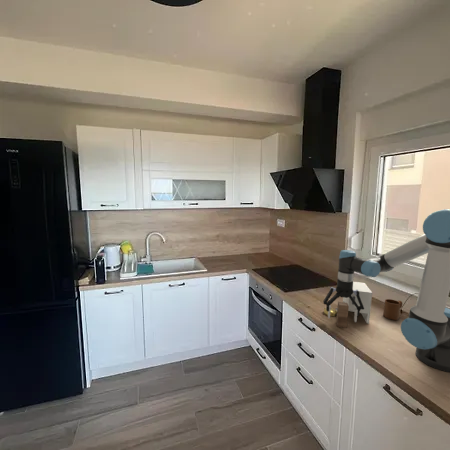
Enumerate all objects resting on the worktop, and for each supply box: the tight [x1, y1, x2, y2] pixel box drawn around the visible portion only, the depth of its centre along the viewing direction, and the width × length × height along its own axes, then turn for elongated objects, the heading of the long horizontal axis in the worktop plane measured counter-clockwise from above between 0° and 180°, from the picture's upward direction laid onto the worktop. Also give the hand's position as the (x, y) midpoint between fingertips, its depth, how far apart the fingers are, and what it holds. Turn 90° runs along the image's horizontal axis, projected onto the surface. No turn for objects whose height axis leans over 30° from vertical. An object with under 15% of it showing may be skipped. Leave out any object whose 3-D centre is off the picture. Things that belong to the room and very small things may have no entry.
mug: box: [382, 298, 403, 321], centre depth 148 cm, size 12×8×9 cm, turn 111°
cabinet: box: [342, 281, 373, 325], centre depth 147 cm, size 17×11×18 cm, turn 164°
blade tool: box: [335, 301, 349, 329], centre depth 143 cm, size 20×4×12 cm, turn 164°
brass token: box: [323, 307, 337, 318], centre depth 149 cm, size 7×7×2 cm
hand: (341, 318), depth 136 cm, fingers open, 12 cm apart
